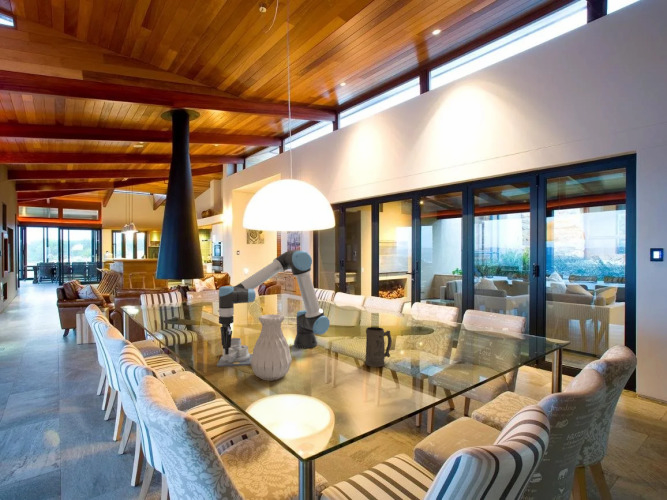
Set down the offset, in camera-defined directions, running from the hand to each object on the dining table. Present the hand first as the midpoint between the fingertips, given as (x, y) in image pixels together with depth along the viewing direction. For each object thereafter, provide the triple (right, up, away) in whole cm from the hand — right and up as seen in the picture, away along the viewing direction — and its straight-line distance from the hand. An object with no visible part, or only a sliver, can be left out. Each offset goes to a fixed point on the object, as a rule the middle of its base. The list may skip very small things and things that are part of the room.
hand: (226, 360), depth 190 cm
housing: (+3, -4, +13) cm, 14 cm away
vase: (+26, -5, -12) cm, 29 cm away
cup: (-4, -5, +25) cm, 26 cm away
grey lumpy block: (+3, -1, +8) cm, 8 cm away
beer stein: (+82, -5, +9) cm, 83 cm away
